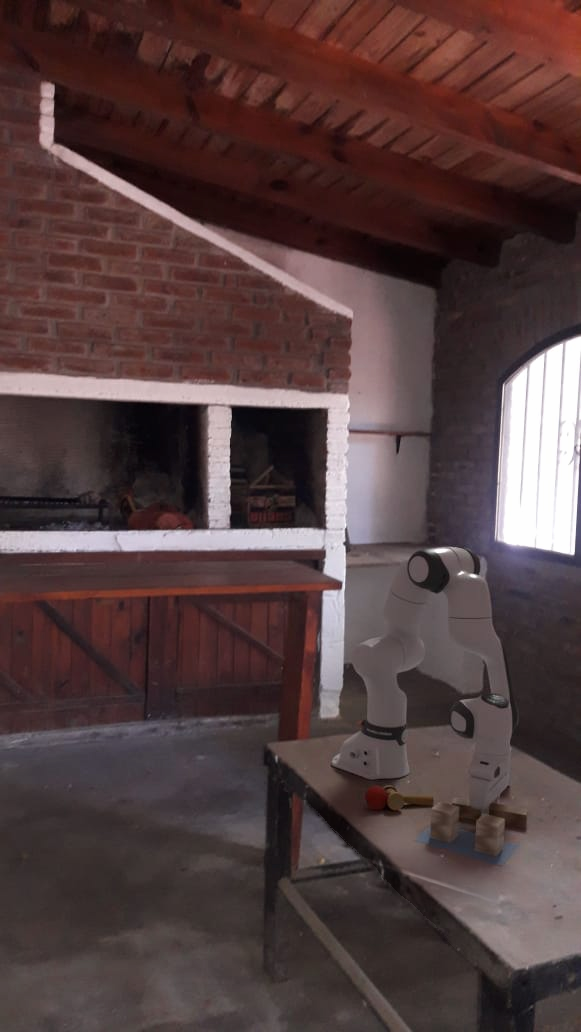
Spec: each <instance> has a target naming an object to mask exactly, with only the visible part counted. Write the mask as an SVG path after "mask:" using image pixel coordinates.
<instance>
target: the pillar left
mask: <svg viewBox="0 0 581 1032" xmlns="http://www.w3.org/2000/svg"><path fill="white" fill-rule="evenodd" d="M430 813H431V814H430V825H431V828H430V838H433V839H437V840H440V841H444V842H447V843H451V842H452V841H453V840H454V839H455V838H456V837H457V836H458V829H459V823H460V822H459V820H460V819H459V818H460V817H459V807H458V806H454V805H452V804H451V803H446V802H443V801H439V802H437V803H436V804H435V805H433V806H432V808H431V810H430Z"/></svg>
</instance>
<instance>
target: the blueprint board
mask: <svg viewBox="0 0 581 1032" xmlns="http://www.w3.org/2000/svg"><path fill="white" fill-rule="evenodd" d="M430 828H431V824H430V825H429V826H428V827H427V828H426V829H425V830H424V831H422V832H421V833H420V834H419V835H418V836H417V837H416V838H415V839H414V840H413V841H415V842H418V843H422V844H425V845H428V846H432V847H435V848H438V849H441V850H445V851H448V852H452V853H454V854H459V855H463V856H466V857H469V858H472V859H475V860H479V861H483V862H486V863H489V864H492V865H495V866H499V867H504V865H505V864H506V862H507V861H508V859H510V857H511V856H512V855H513V853H514V852H515V851H516V850H517V848H518V847H519V845H518V844H515V843H511V842H507V841H504V844H503V849H502V850H501V852H500V853H499V854H498V855H497V857H495V856H492V855H488V854H485V853H481V852H478V851H475V839H476V832H471V831H468V830H464V829H461V828H458V836H457V837H456V838H455V839H454V840H453V841H452V842H451V843H447V842H444V841H440V840H437V839H433V838H430Z"/></svg>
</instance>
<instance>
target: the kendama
mask: <svg viewBox="0 0 581 1032" xmlns="http://www.w3.org/2000/svg"><path fill="white" fill-rule="evenodd" d="M364 802H365V805H366V807H367V808H368V809H370V810H371V809H372V810H371V811H381V810H383V809H384V808H388V807H389V808H390V809H391V810H393V811H399V810H401V809H402V808H403V807H404V805H405V804H409V805H417V806H426V807H427V806H430V807H431V806H432V807H434V803H435V802H434V796H433V794H401V793H400V792H398V790H397V789H396V787H394V786H393V785H389V784H388V785H387V784H386V785H384V786H383V787H382V786H380V785H373V786H370V787H369V788H367V790H366V791H365V794H364Z"/></svg>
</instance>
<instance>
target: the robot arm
mask: <svg viewBox="0 0 581 1032" xmlns="http://www.w3.org/2000/svg"><path fill="white" fill-rule="evenodd" d="M480 573H481V561H480V559H479V556H478V554H477V553H476V552H475V551H473V550H472V549H470V548H467V547H463V546H456V547H455V546H440V547H431V548H427V547H426V548H422V549H419V550H417V551H415V552H413V554H412V555H411V556H408V557H406V558H405V559H403V560H402V562H401V564H400V566H399V567H398V569H397V571H396V572H395V576H394V578H393V580H392V583H391V585H390V588H389V591H388V595H387V597H386V600H385V603H384V607H383V609H382V610H383V611H382V615H383V618H384V620H385V621H386V622H387V631H386V633H385V634H384V635H382V636H379V637H374V638H369V639H367V640H365V641H363V642H361V643H360V644H358V645H357V646H355V647H354V649H353V650H352V653H351V654H352V655H351V662H352V667H353V669H354V671H355V672H356V673H357V674H358V675H359V676H360V677H361V678H362V679H363V682H364V686H365V688H366V694H367V711H366V712H367V714H366V715H367V716H366V717H365V718H364V719H362V720H361V721H359V722H358V727H359V728H360V727H361V730H359V731H358V732H356V733H355V734H353V735H351V736H350V737H348V738H347V739H346V740H345V741H343V743H342V745H341V747H340V751H339V752H340V753H338V754H336V755H334V756H333V758H332V760H331V766H333V767H335V768H338V769H341V770H344V771H346V772H349V773H351V774H354V775H357V776H360V777H363V778H365V779H366V780H367V779H368V780H372V781H373V780H379V779H380V780H381V779H399V778H402V777H405V776H407V775H409V773H410V771H411V770H410V767H409V763H408V757H407V745H406V744H407V741H408V740H407V738H408V722H407V708H408V707H407V705H408V703H407V702H408V698H407V694H406V693H405V692H404V690H402V689H401V688H400V687H399V684H398V677H397V676H398V674H399V673H403V672H408V671H410V670H412V669H414V668H416V667H417V666H418V665H420V664H421V663H422V662H423V661H424V660H425V656H426V648H425V644H424V642H423V640H422V638H421V627H422V621H423V619H424V616H425V613H426V609H427V606H428V604H429V601H430V598H431V593H434V594H440V593H441V592H442V593H443V594H444V595H445V597H446V599H447V605H448V607H447V608H448V609H447V610H448V611H447V613H448V615H447V621H448V623H447V624H448V627H447V628H448V633H449V637H450V639H451V641H452V642H454V645H456V646H457V647H459V648H460V649H461V650H462V651H465V652H468V653H471V654H473V655H476V656H478V657H480V658H481V659H482V660H483V661H484V663H485V665H486V669H487V675H488V682H489V687H490V692H487V693H482V694H480V696H478V697H475V698H468V699H461V700H457V701H456V702H454V703H453V705H452V707H451V709H450V713H449V723H450V727H451V729H452V730H453V732H454V733H455V734H456V735H458V736H459V737H461V738H465V739H471V740H473V741H474V746H473V747H474V751H473V752H474V753H473V756H472V759H471V761H470V763H469V765H468V767H467V774H468V775H469V776H470V777H469V782H468V783H469V786H468V787H469V788H468V796H469V797H468V799H469V802H470V806H471V807H472V808H474V809H478V810H481V816H482V815H483V814H488V815H490V812H489V806H490V804H491V803H495V804H499V800H500V797H501V794H502V792H504V790H506V789H507V788H508V787H507V786H508V785H509V780H510V781H511V774H510V758H511V759H512V757H511V748H512V747H511V745H510V744H511V738H512V734H513V733H514V731H515V729H516V727H517V726H518V723H519V719H520V715H519V714H520V712H519V709H518V706H517V703H516V701H515V696H514V693H513V686H512V680H511V675H510V668H509V662H508V657H507V652H506V648H505V645H504V644H505V643H504V642H503V640H502V639H501V637H500V636H498V635H497V633H496V630H495V629H494V624H493V613H492V612H493V611H492V602H491V601H492V600H491V596H490V589H489V585H488V582H487V580H486V579H485V578H484V577H483V576H481V575H480Z"/></svg>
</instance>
